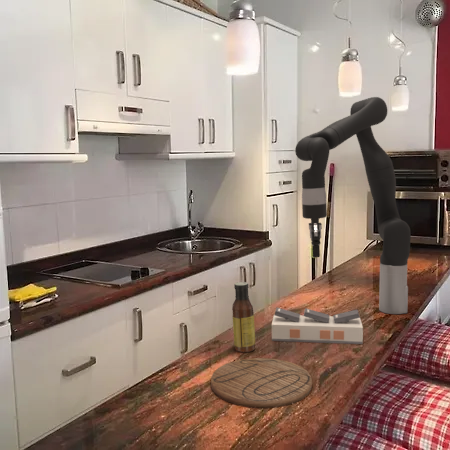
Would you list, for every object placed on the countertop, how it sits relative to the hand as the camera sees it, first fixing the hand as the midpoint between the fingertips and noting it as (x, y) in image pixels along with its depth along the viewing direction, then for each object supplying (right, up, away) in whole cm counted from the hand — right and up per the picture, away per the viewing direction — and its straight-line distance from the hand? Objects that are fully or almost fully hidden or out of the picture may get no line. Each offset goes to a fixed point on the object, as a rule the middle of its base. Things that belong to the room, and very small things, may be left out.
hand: (316, 256), depth 165 cm
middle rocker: (-1, -19, -4) cm, 19 cm away
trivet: (-20, -30, -35) cm, 50 cm away
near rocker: (+9, -19, -5) cm, 22 cm away
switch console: (0, -25, -3) cm, 25 cm away
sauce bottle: (-23, -27, -12) cm, 37 cm away
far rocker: (-10, -19, -2) cm, 21 cm away
